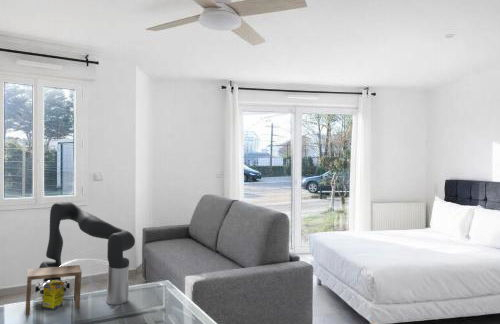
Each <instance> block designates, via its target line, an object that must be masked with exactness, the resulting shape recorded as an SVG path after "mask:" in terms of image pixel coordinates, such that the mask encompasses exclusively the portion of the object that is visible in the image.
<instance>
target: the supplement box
mask: <svg viewBox="0 0 500 324" xmlns="http://www.w3.org/2000/svg"><path fill="white" fill-rule="evenodd" d="M62 281H63V280H62ZM62 281H56V280H53V281H51V282H48V283H46V284H44V293H43V294H42V309H45V310H50V311H55V310H56V309H58V308H60V307H62V306H63V303H64V292H63V291H64V282H62Z"/></svg>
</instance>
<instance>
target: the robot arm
mask: <svg viewBox="0 0 500 324" xmlns="http://www.w3.org/2000/svg"><path fill="white" fill-rule="evenodd" d="M64 220H70V221H73V222H75V223H77V224H78V225H77V226H78V227H79V230H81V232H83V233H85V234H86V235H88V236H91V237H92V238H98V239H104V240H107V261H108V271H107V282H106V283H107V286H106V300H105V302H106V303H107V304H108V305H112V306H113V305H114V306H117V305H122V304H125V303H128V302H129V300H128V299H129V286H130V281H129V269H130V260H129V258H127V257H124V252H126V251H129V250H131V249H133V247H134V246H135V243H136V240H135V237H134V235H133V233H131V232H130V231H128V230H125V229H122V228H119V227H117V226H115V225H113V224H111V223H109V222H106V221H104V220H103V219H101V218H99V217H97V216H95V215H93V214H91V213H89V212H87V211H85V210H84V209H82V208H81V207H79V206H77V205H76V204H75V203H73V202H70V201H62V202H61V201H60V202H55V203H54V204H52V205H51V207H50V211H49V233H48V234H49V235H48V236H49V237H48V243H47V248H46V252H45V256H46V258H48V259H51V260H53V261H50V260H49V261H46V260H45V261H42V262H41V263H40V265H39V267H38V268H49V267H59V266H60V265H62V258H61V257H62V251H63V247H64V239H63V236H62V234H61V231H60V225H61V221H64ZM69 279H70V278H69ZM69 279H68V278H66V279H65V280H62V277H57V278H46V279H42V282H40V281H36V282H35V287H34V288H35V292H38V293H39V294H41V295H43V293H44V284H46V283H48V282H51V281H53V280H56V281H62V282H64V291H63V293H65V291H67V289H70V288H71V282H70V280H69Z"/></svg>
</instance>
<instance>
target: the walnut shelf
mask: <svg viewBox="0 0 500 324" xmlns="http://www.w3.org/2000/svg"><path fill="white" fill-rule="evenodd" d="M57 277H61V278H64V277H66V278H67V277H74V289H73V302H74V307H75V309H79V308H80V304H81V289H82V287H81V286H82V269H81V266H80V264H77V265H63V266H61V267H49V268H39V267H37V268H28V269H27V279H26V280H27V281H26V294H25V295H26V296H25V297H26V298H25V316H29V315H31V314H30V312H31V311H30V310H31V298H32V297H31V295H32V281H33V280H34V281H35V280H43V279H46V278H57Z"/></svg>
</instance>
